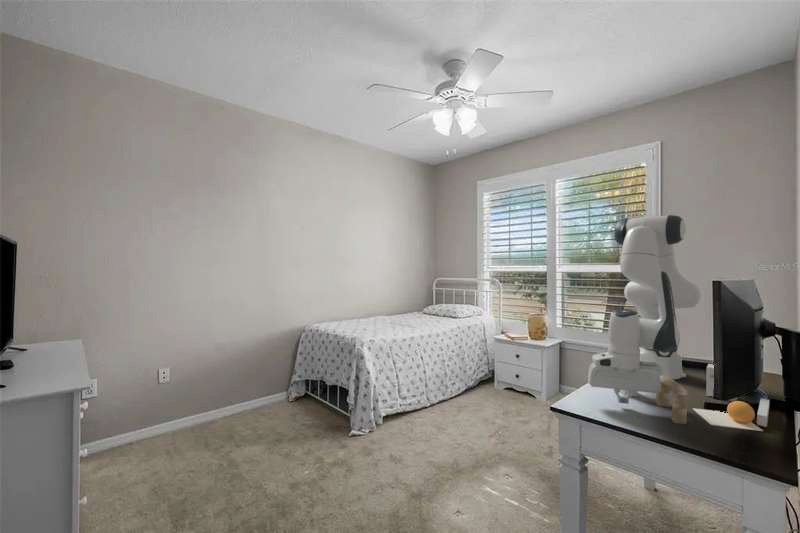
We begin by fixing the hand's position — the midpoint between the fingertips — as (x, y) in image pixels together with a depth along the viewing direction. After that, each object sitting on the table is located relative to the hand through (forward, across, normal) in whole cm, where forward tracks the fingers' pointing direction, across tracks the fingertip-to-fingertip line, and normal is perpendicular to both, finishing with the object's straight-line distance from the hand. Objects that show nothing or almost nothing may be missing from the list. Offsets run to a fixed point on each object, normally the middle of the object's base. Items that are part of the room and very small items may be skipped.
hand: (622, 402), depth 118 cm
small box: (+2, -35, -21) cm, 41 cm away
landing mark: (+2, -27, 0) cm, 27 cm away
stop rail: (+2, -39, -6) cm, 39 cm away
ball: (-1, -30, +1) cm, 30 cm away
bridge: (+2, -13, 0) cm, 13 cm away
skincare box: (+2, -5, -15) cm, 16 cm away
